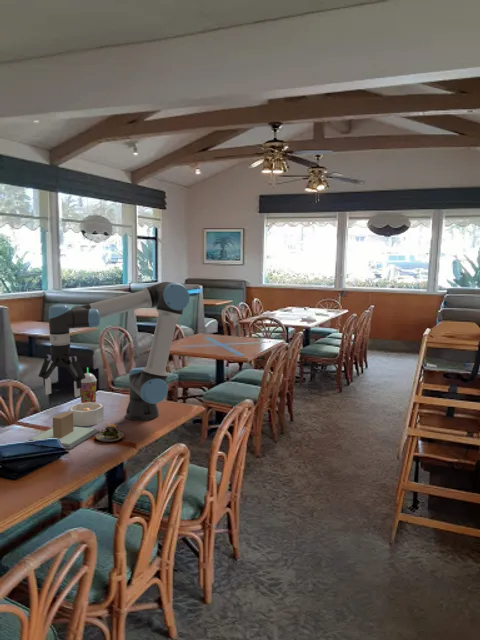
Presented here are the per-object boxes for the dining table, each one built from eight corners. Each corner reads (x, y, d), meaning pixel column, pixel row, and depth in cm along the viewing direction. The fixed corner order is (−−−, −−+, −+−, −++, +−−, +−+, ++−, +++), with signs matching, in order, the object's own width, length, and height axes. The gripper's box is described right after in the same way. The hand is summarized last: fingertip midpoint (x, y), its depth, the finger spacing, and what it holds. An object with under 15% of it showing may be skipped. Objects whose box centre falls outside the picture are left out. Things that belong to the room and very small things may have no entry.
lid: (94, 431, 205) (94, 410, 204) (69, 446, 188) (69, 424, 187) (58, 427, 209) (57, 406, 208) (30, 441, 192) (29, 419, 191)
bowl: (108, 417, 225) (108, 403, 224) (91, 427, 211) (91, 412, 211) (81, 414, 228) (81, 401, 228) (63, 424, 215) (63, 410, 214)
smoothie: (76, 408, 239) (75, 368, 236) (87, 403, 246) (86, 365, 244) (89, 410, 236) (88, 370, 233) (100, 405, 243) (99, 366, 241)
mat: (99, 431, 206) (99, 430, 206) (70, 449, 186) (70, 448, 186) (57, 426, 211) (57, 425, 211) (24, 444, 191) (24, 442, 191)
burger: (89, 441, 195) (88, 424, 194) (108, 432, 206) (107, 415, 205) (112, 446, 190) (112, 428, 189) (131, 437, 201) (130, 419, 200)
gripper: (27, 344, 194) (30, 395, 196) (82, 346, 187) (84, 399, 190) (39, 341, 201) (42, 390, 203) (92, 343, 194) (95, 394, 197)
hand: (62, 395), depth 197 cm, fingers open, 13 cm apart
